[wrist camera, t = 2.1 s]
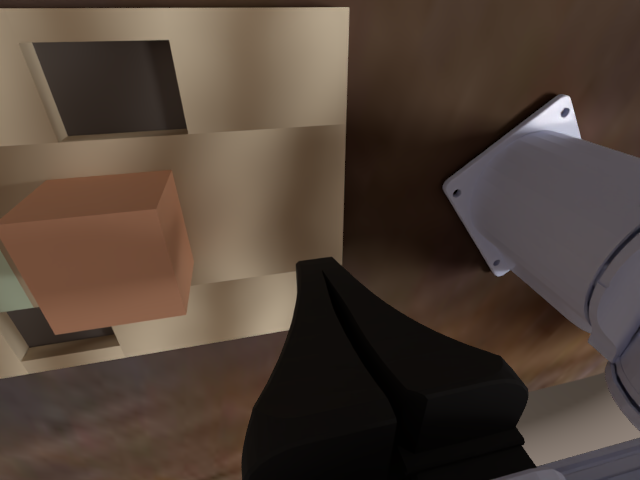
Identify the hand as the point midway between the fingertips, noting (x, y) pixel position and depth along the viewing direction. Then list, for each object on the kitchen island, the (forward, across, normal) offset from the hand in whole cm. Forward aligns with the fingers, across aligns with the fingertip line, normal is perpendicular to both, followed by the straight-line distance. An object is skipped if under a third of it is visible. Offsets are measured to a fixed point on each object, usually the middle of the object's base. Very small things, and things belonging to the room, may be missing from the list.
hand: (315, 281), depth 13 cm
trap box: (+7, +8, 0) cm, 11 cm away
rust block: (+6, +8, 0) cm, 10 cm away
